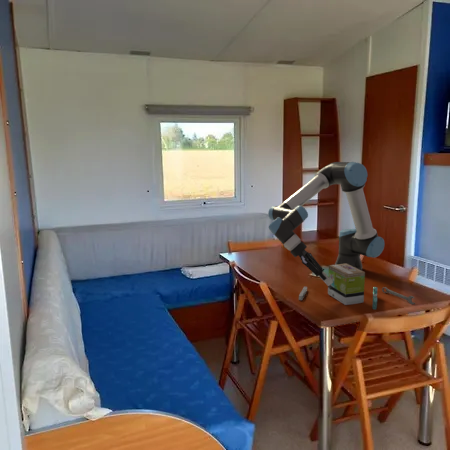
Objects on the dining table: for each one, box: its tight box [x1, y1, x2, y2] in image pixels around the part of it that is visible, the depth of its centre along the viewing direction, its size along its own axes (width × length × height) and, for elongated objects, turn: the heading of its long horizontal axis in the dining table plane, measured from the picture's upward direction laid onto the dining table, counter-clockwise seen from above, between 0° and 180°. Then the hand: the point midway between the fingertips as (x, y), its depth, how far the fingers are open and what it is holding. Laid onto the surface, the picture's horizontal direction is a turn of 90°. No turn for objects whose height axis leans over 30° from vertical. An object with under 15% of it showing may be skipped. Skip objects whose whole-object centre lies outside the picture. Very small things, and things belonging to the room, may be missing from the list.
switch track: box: [298, 286, 379, 310], centre depth 193 cm, size 16×34×5 cm, turn 70°
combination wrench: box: [381, 286, 416, 306], centre depth 193 cm, size 4×1×20 cm
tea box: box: [327, 263, 366, 306], centre depth 192 cm, size 15×10×15 cm
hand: (330, 284), depth 193 cm, fingers closed
